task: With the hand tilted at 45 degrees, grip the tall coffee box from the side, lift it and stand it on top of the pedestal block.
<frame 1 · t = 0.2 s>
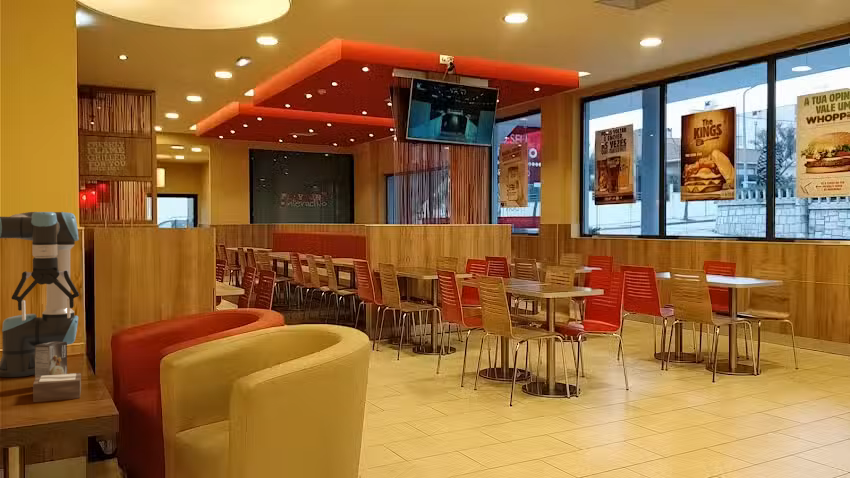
hand: (46, 318, 236), 27 cm above the table, tool pointing down, fingers open, 13 cm apart
coffee box: (51, 387, 253), on the table
pedestal: (58, 395, 240), on the table
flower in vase: (46, 363, 296), on the table
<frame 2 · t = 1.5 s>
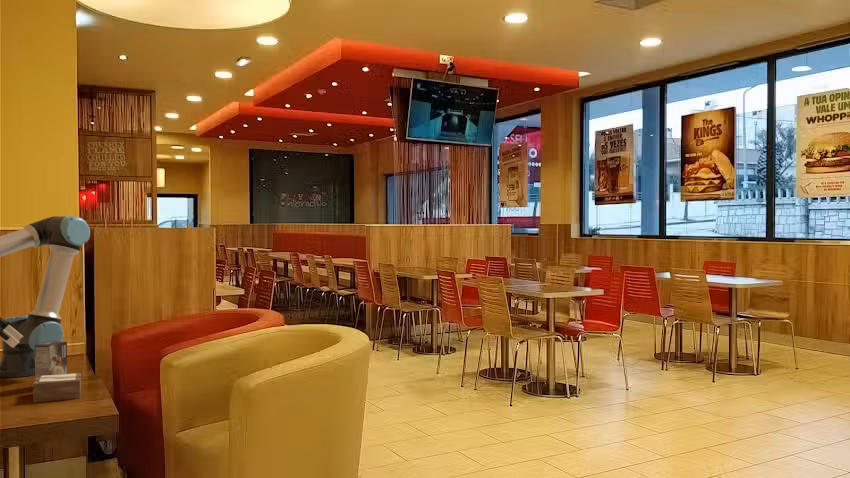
hand: (18, 342, 248), 17 cm above the table, tool tilted 45°, fingers open, 13 cm apart
nothing on the table moved.
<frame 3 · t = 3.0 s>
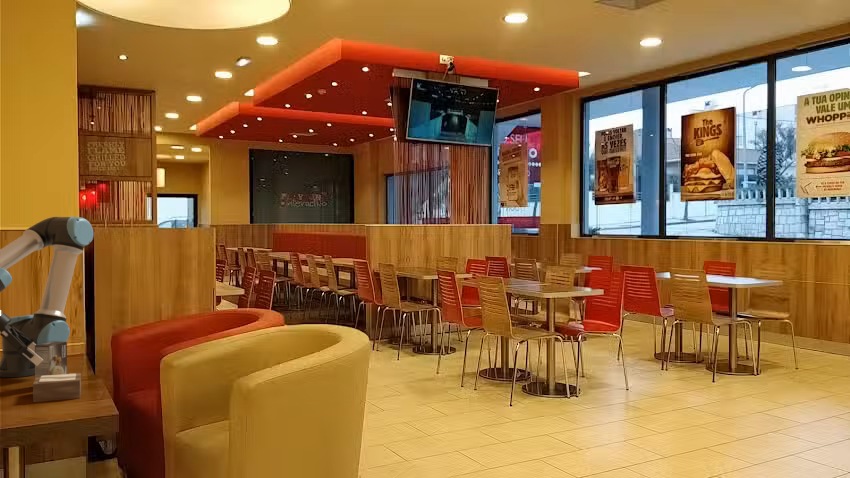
hand: (42, 359, 251), 10 cm above the table, tool tilted 45°, fingers open, 13 cm apart
nothing on the table moved.
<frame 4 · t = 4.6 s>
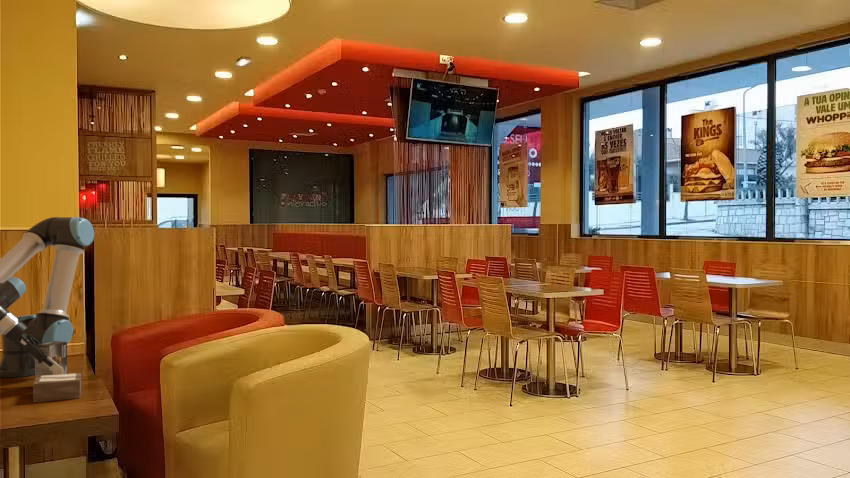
hand: (60, 368, 254), 7 cm above the table, tool tilted 45°, fingers closed on coffee box, 10 cm apart
coffee box: (51, 387, 253), on the table, touching gripper
everything else where it was.
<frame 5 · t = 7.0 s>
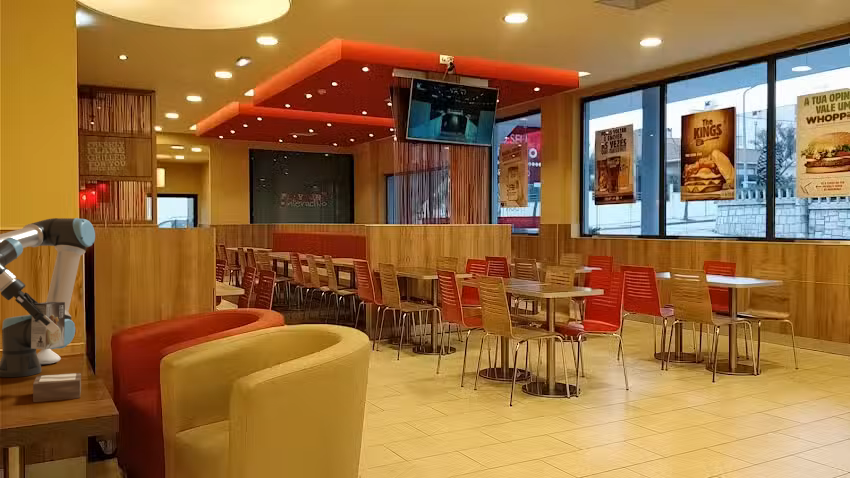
hand: (57, 328, 248), 22 cm above the table, tool tilted 45°, fingers closed on coffee box, 10 cm apart
coffee box: (47, 347, 247), point 15 cm above the table, touching gripper
everything else where it was.
when the fingers open (14 cm above the table, at t = 9.4 s): coffee box drops 1 cm, resting on pedestal.
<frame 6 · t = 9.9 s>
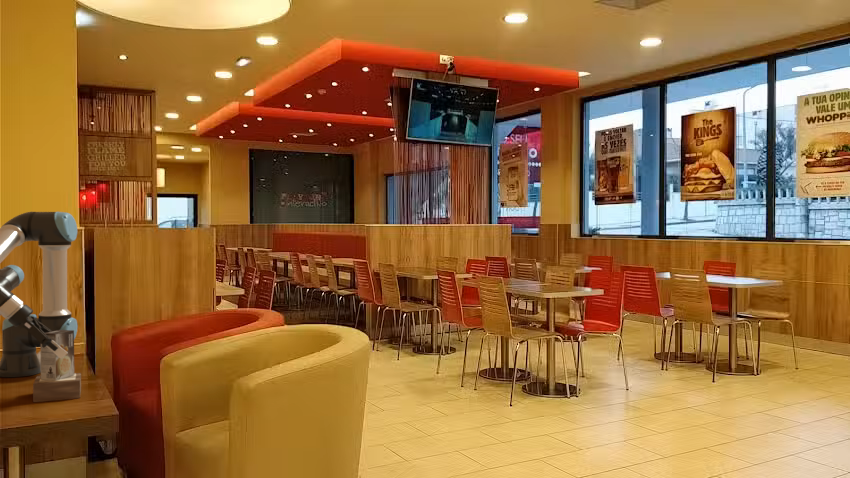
hand: (65, 352, 240), 15 cm above the table, tool tilted 45°, fingers open, 13 cm apart
coffee box: (57, 378, 239), point 6 cm above the table, touching pedestal
everything else where it was.
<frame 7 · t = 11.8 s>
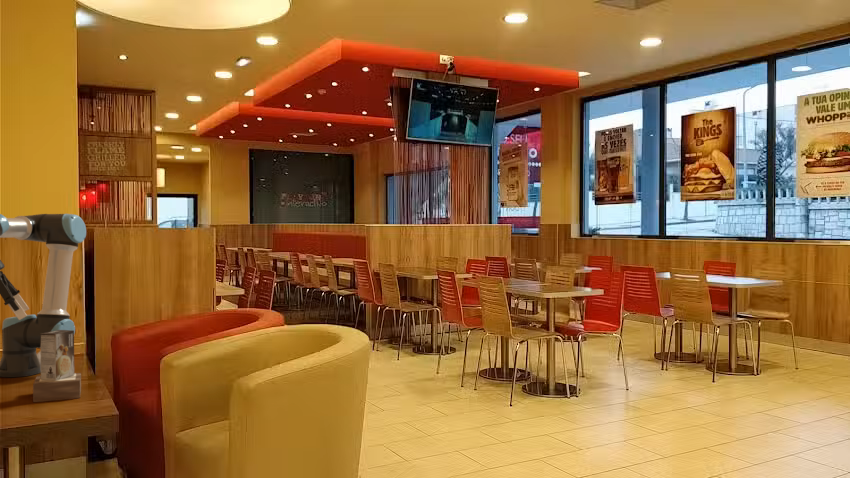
hand: (24, 314, 241), 28 cm above the table, tool tilted 30°, fingers open, 13 cm apart
nothing on the table moved.
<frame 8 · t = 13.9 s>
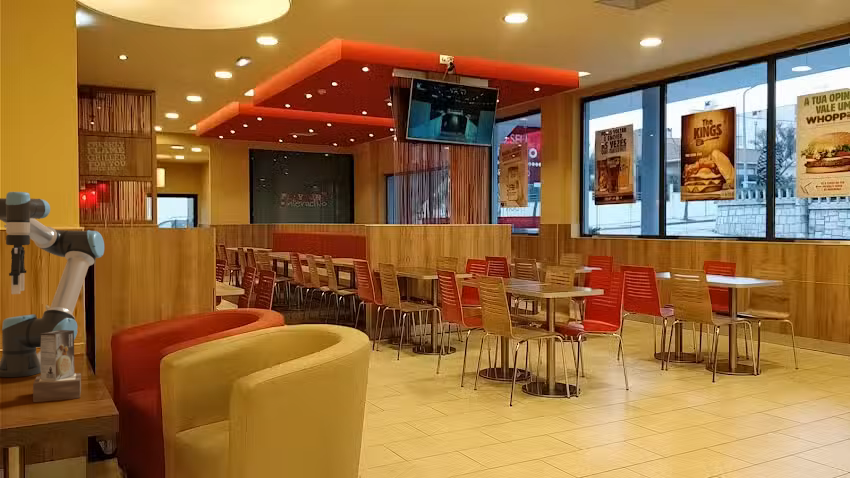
hand: (18, 292, 251), 35 cm above the table, tool pointing down, fingers open, 13 cm apart
nothing on the table moved.
at the end: coffee box inside the target area on the pedestal (0.1 cm from its centre), point 6.1 cm above the pedestal's base; coffee box tilted 0°; the gripper is holding nothing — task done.
